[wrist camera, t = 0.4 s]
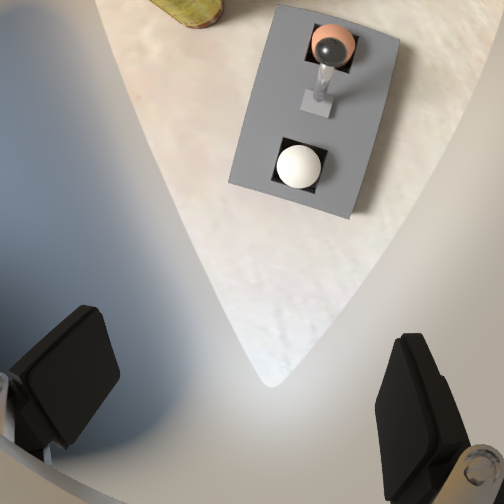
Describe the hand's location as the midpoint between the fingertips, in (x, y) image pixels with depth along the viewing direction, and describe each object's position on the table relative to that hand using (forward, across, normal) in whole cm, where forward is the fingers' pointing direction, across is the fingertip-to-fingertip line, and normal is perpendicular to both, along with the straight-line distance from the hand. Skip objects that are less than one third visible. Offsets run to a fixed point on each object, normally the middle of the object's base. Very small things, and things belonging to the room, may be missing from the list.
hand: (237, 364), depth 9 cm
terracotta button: (+28, -5, -17) cm, 33 cm away
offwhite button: (+28, -1, -4) cm, 28 cm away
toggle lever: (+26, -3, -10) cm, 28 cm away
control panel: (+30, -3, -10) cm, 31 cm away
